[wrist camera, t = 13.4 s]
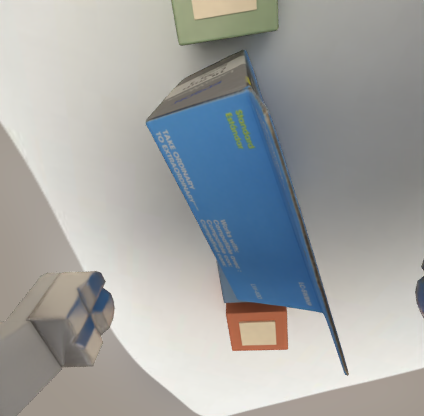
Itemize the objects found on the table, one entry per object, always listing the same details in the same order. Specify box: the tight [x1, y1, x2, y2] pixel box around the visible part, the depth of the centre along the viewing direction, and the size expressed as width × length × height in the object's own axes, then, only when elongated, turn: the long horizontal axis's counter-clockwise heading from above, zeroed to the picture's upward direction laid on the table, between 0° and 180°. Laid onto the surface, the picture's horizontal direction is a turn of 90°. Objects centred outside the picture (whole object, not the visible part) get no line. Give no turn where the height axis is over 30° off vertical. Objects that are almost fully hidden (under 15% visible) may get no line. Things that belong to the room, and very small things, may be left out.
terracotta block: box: [226, 302, 288, 351], centre depth 23 cm, size 4×4×4 cm
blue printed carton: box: [146, 50, 349, 376], centre depth 13 cm, size 9×4×12 cm, turn 22°
